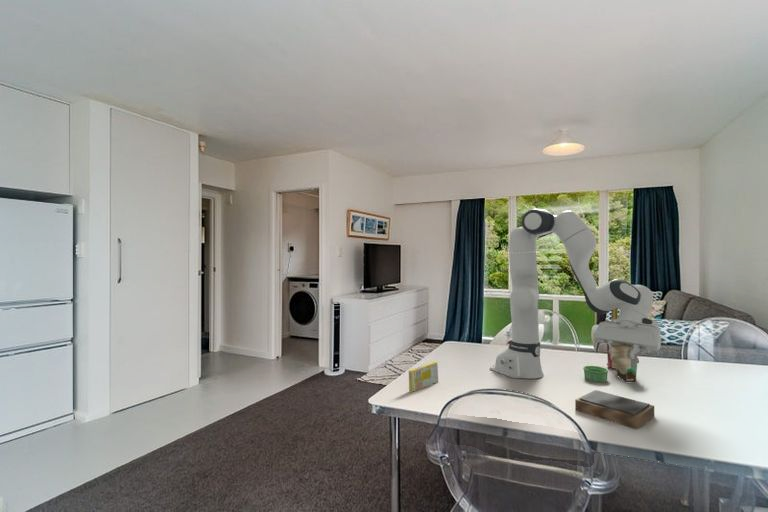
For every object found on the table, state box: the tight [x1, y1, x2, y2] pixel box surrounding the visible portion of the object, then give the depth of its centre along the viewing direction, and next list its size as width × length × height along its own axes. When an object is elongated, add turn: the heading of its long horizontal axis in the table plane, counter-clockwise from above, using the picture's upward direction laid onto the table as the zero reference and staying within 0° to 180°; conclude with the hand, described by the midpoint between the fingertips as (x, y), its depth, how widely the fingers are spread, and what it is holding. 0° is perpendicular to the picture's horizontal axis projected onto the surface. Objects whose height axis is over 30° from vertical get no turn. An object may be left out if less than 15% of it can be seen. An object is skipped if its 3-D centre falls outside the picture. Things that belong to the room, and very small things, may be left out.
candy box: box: [408, 361, 439, 393], centre depth 150 cm, size 16×2×8 cm, turn 134°
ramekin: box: [582, 365, 609, 383], centre depth 156 cm, size 9×9×4 cm
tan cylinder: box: [612, 343, 632, 371], centre depth 132 cm, size 4×4×8 cm
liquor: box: [606, 308, 619, 370], centre depth 170 cm, size 7×7×28 cm
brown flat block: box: [574, 389, 655, 430], centre depth 122 cm, size 18×14×4 cm
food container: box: [616, 354, 640, 383], centre depth 155 cm, size 12×6×10 cm, turn 168°
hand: (620, 355), depth 132 cm, fingers closed on tan cylinder, 4 cm apart
